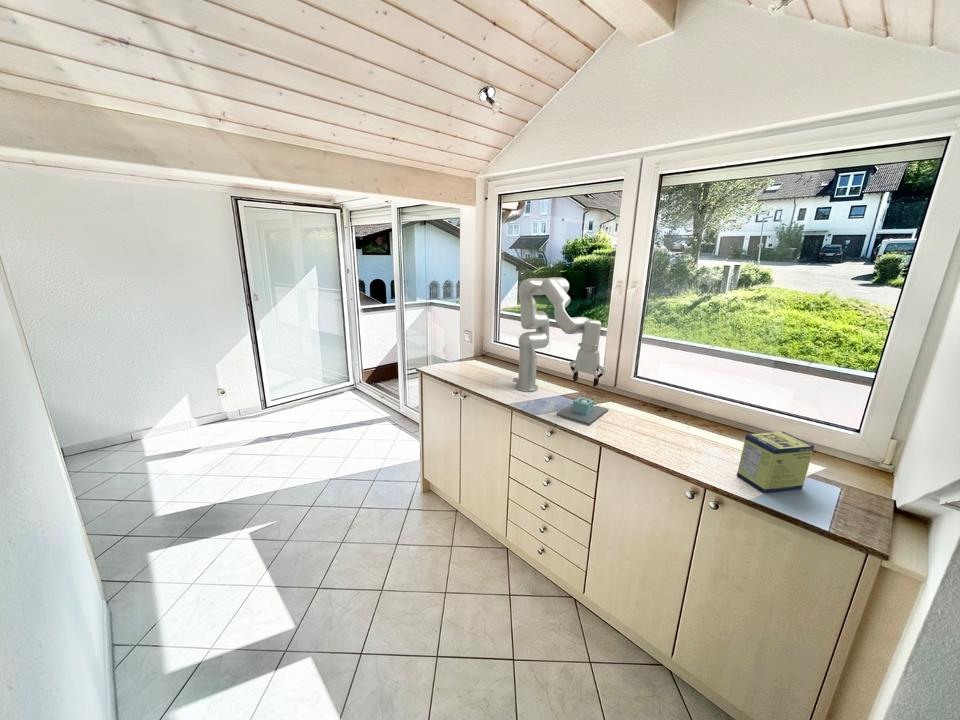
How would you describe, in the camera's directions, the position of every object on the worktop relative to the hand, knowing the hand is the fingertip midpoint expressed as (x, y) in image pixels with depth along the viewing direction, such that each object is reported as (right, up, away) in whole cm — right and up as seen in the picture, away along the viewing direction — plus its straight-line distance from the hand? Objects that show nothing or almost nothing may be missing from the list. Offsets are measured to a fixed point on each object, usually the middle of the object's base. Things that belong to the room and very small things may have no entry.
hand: (585, 383), depth 173 cm
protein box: (+47, -30, -49) cm, 74 cm away
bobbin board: (0, -14, +3) cm, 15 cm away
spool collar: (0, -13, +3) cm, 14 cm away
